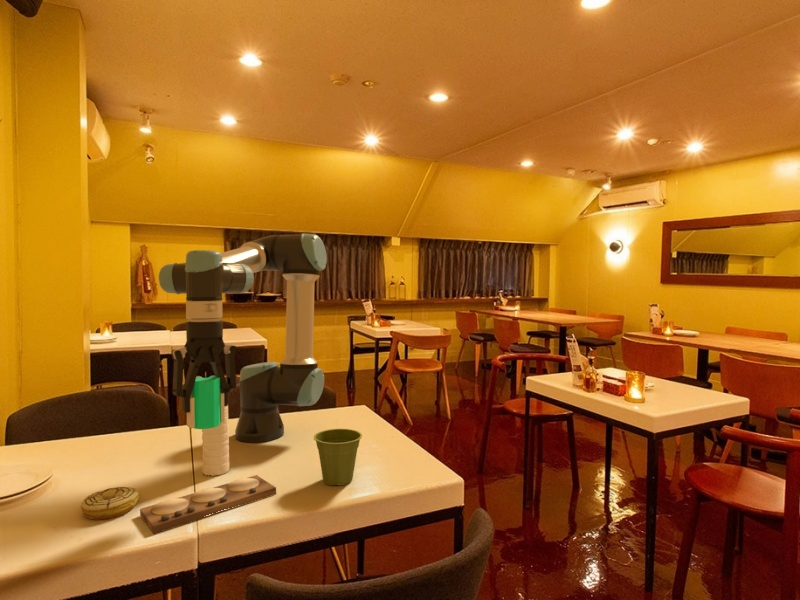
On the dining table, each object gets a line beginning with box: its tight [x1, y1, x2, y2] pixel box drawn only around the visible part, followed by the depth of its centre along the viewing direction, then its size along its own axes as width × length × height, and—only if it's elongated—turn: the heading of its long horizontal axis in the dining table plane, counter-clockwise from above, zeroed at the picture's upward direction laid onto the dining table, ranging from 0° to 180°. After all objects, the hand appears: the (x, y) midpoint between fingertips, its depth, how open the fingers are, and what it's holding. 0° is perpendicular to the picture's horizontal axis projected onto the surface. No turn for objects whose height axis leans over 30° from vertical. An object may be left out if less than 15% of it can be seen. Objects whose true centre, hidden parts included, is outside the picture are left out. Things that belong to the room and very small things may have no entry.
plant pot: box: [313, 428, 363, 486], centre depth 118 cm, size 12×12×11 cm
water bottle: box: [196, 375, 230, 477], centre depth 123 cm, size 9×6×25 cm
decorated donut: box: [79, 486, 140, 521], centre depth 103 cm, size 10×11×4 cm
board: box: [139, 475, 277, 535], centre depth 105 cm, size 10×26×2 cm, turn 132°
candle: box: [191, 371, 221, 430], centre depth 106 cm, size 6×6×12 cm
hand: (205, 423), depth 107 cm, fingers closed on candle, 6 cm apart
